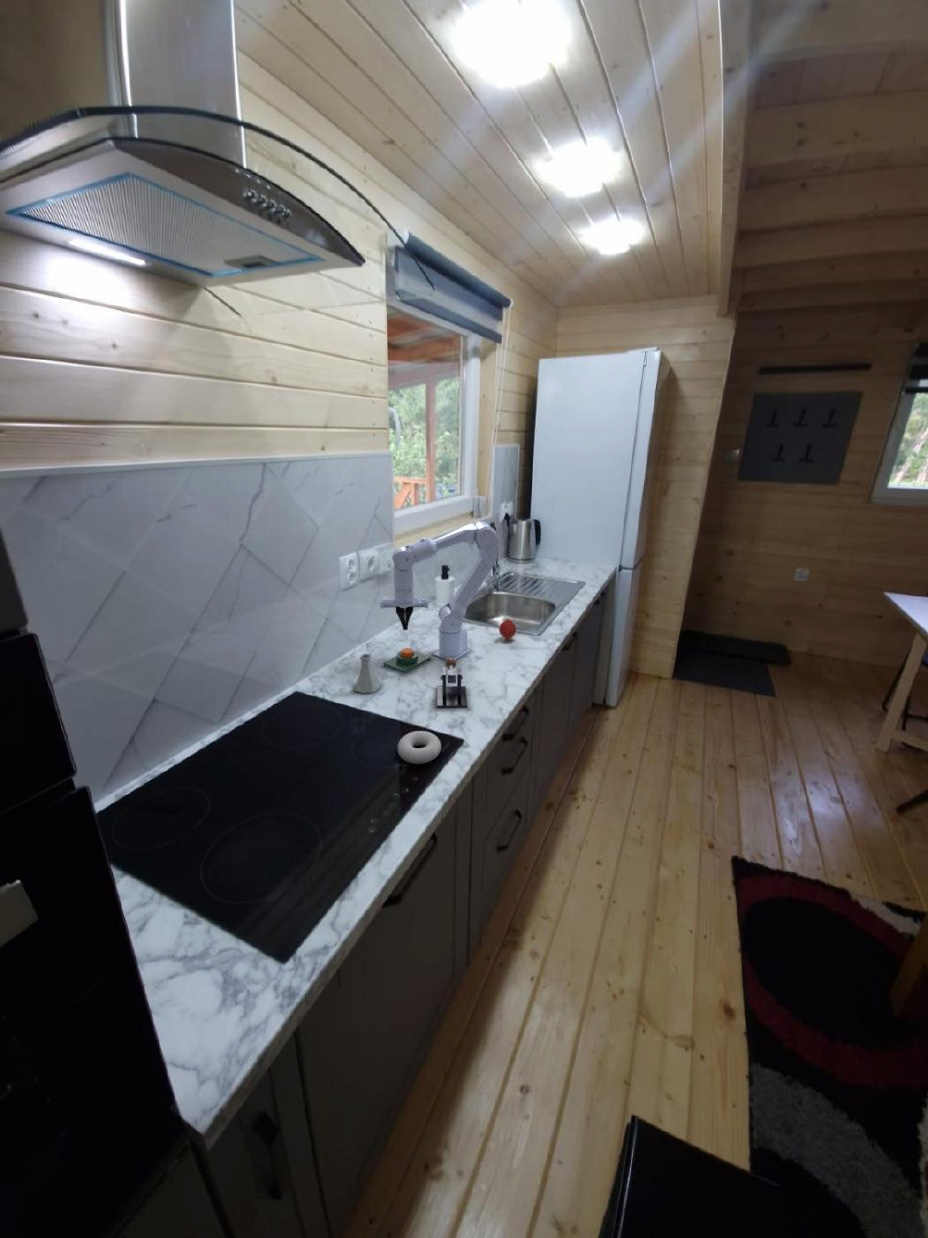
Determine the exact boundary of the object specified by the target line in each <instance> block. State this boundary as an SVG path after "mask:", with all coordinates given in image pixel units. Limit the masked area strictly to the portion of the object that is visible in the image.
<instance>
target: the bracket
mask: <svg viewBox="0 0 928 1238" xmlns="http://www.w3.org/2000/svg"><path fill="white" fill-rule="evenodd" d="M439 677H440V680H442V681H441V683H442V684H441V686H436V709H462V708H463V709H464V708H465V709H466V708H468V700H467V687H466V685H462V680H463V679H464V674H463V673H462V668H461V666H456V685H455V686H454V685H453V686H448V685H447V667H446V666H443V667H442V668H441V674H440V675H439Z"/></svg>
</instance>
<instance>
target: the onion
mask: <svg viewBox="0 0 928 1238" xmlns="http://www.w3.org/2000/svg"><path fill="white" fill-rule="evenodd" d="M498 630H499V634H500V636H501V637H503V638H504V639H505V640H507V641H509V640H510V639H512V638H513V637H514V636H515V635H516V633H517V627H516V625H515V623H514V622H513V621H512V620H510V618H506V619H505V620H503V622H501V624H500V625H499V628H498Z"/></svg>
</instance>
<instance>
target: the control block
mask: <svg viewBox="0 0 928 1238" xmlns="http://www.w3.org/2000/svg"><path fill="white" fill-rule="evenodd" d="M429 661H431V656H430V655H427V654H424V653H421V652H418V651H416V650H413V656H412V657H409V658H404V657H402V656H401V650H400V651H398V652H397V653H396V656H394V657H392V658H390V659H388V660H386V661H384V662H383V667H387V668H390V669H392V670H395V671H398V672H400V673H403V674H407V673H409V672H410V671H412V670H414V669H416V668H417V667H419V666H421V665H423V664H424V663H425V662H426V663H427V662H429Z"/></svg>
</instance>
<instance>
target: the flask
mask: <svg viewBox="0 0 928 1238" xmlns="http://www.w3.org/2000/svg"><path fill="white" fill-rule="evenodd" d="M371 659H372V654H370V653H362V654H360V655H359V660H360V664H361V665H360V671H359V674H358V678H357V681H356V683H355V688H354V689H355V690H354V691H355V692H358V693H360V694H371V693H375V692H377V691H378V690H380V689H381V681H380V680H379V677H378V676H377V674H376V672H375V669H374V667H373V665H372V660H371Z"/></svg>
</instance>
